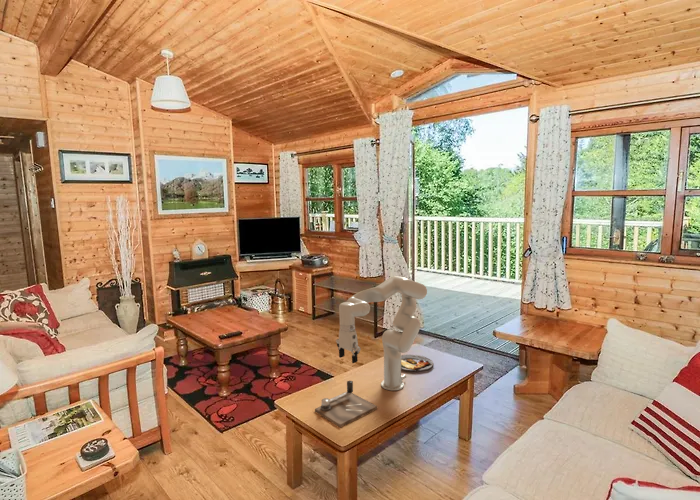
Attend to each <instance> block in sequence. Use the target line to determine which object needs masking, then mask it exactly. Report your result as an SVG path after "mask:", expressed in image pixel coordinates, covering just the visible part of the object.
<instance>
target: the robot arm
mask: <svg viewBox="0 0 700 500" xmlns="http://www.w3.org/2000/svg"><path fill="white" fill-rule="evenodd" d="M399 293H400V294H401V300H402V301H401V304H400V306H399V308H398V310H397V312H396V314H395V316H394V318H393V320H392V324H393V327H394V328H395V329H397V330H399V331H397V330H395V329H386V330H385V331H384V332H383V334H382V335H381V342H382V347H383V348H382V349H383V380H382V381H381V383H380V385H381V388H382V389H385V391H386V390H387V391H390V392H391V391H393V392H394V391H400V390H402V389H403V388H404V387H405V383H404V382H403V380H404V379H407V374H403V375H402V368H401V355H402V354H403V353H404V354H405V353H408V352H409V351H410V349H411V348H412V346H413V345H414V342H415V340H416V339H417V338H416V337H417V336H418V334H419V331H420V329H421V322H420V320H419V318H418V317H416V316H414V315H415V313H416V309H417V300H423V299H424V298H425V297H426V296H427V294H428V289H427V286H426V285H425V284H422V283H421V282H417V281H415V280H412V279H410V278H407V277H403V276H400V275H399V276H398V275H393V276H391V277H389V278H387V279H386V280H385V281H383V282H381V283H380V284H378V285H376V286H374V287H370V288H367V289H364V290H361V291H359V292H356V293H355V294H353V295H352V296H350V297H348V299H347V300H346V301H344V302H341V303H340V304H339V306H338V308H339V309H338V311H339V330H338V338H337V339H335V343H336V346H337V349H338V357H339V358H343V357H345V350H346V351H349V352H351V354H352V355H351V364H355V363H357V362H358V355H359V353H360V352H361V349H362V348H361V347H360V346H359V342H358V341H359V339H358V333H357V330H356V321H355V318H356V317H364V316H367V315H368V314H369V313H370V311H371V306H370V304H369V303H378V302H379V303H381V302H384V301H386V300H388V299H389V298H391V297H392V296H394V295H395V294H399ZM401 331H402V332H401Z"/></svg>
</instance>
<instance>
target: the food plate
mask: <svg viewBox="0 0 700 500" xmlns="http://www.w3.org/2000/svg"><path fill="white" fill-rule="evenodd" d="M418 360H419V361H418ZM417 361H418V363H417ZM424 361H425V362H424ZM432 367H434V361H433V360H432V359H430V358H428V357H427V356H423V355H421V354H401V370H405V371H408V372H409V371H410V372H421V371H424V370H425V371H426V370H429V369H431V368H432Z"/></svg>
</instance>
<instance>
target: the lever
mask: <svg viewBox="0 0 700 500" xmlns="http://www.w3.org/2000/svg"><path fill="white" fill-rule="evenodd" d="M353 392H354V381H353V380H347V381H346V391H345V392H343V393H341V394H340V393H339V394H338V395H336V396H333V397H331V398H330V399H329V398H322V399H321V405H322V408H329V407H330V404H331V403H333V402H336V401H338V400H340V399H342V398H344V397H347V396H349V395H351V393H353Z"/></svg>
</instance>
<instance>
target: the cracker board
mask: <svg viewBox="0 0 700 500" xmlns="http://www.w3.org/2000/svg"><path fill="white" fill-rule="evenodd" d="M376 410H378V406H377V405H376V404H374V403H372V402H370V401H368V400H367V399H364V398H363V397H360V396H359V395H356V394H355V393H353V392H352V393H351V395H349V396H347V397H344V398H342V399H340V400H338V401H336V402H333V403H331V404H330V407H329V408H322V404H321V405H320V406H317V407H315V408H314V412H315V413H316V414H318V415H319V414H320V416H322V417H323V418H324V419H325V420H328V421H329V422H330V421H331V423H332V424H333V425H335V426H337V427H338V428H340V429H341V428H343V427H344V426H346V425H348V424H350V423H353V422H354V421H356V420H358V419H360V418H362V417H364V416H366V415H368V414H370V413H372V412H374V411H376Z"/></svg>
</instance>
